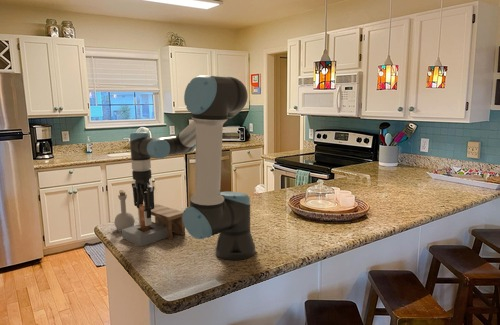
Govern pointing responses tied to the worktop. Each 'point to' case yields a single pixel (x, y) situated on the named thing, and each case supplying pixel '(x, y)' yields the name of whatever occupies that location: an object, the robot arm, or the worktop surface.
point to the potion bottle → (123, 214)
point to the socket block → (144, 234)
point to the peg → (143, 219)
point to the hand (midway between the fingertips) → (145, 223)
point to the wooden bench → (169, 219)
